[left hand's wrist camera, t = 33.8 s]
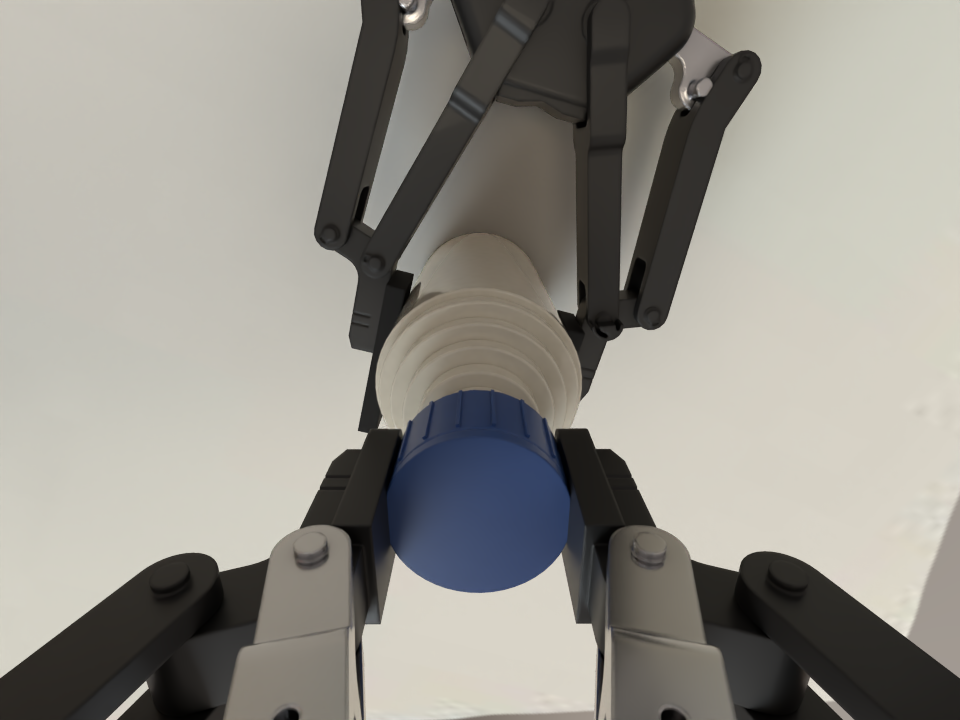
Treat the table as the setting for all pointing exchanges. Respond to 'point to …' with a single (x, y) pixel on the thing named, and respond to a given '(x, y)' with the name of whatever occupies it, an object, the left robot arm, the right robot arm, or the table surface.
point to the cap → (478, 493)
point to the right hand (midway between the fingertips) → (451, 434)
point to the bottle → (478, 336)
